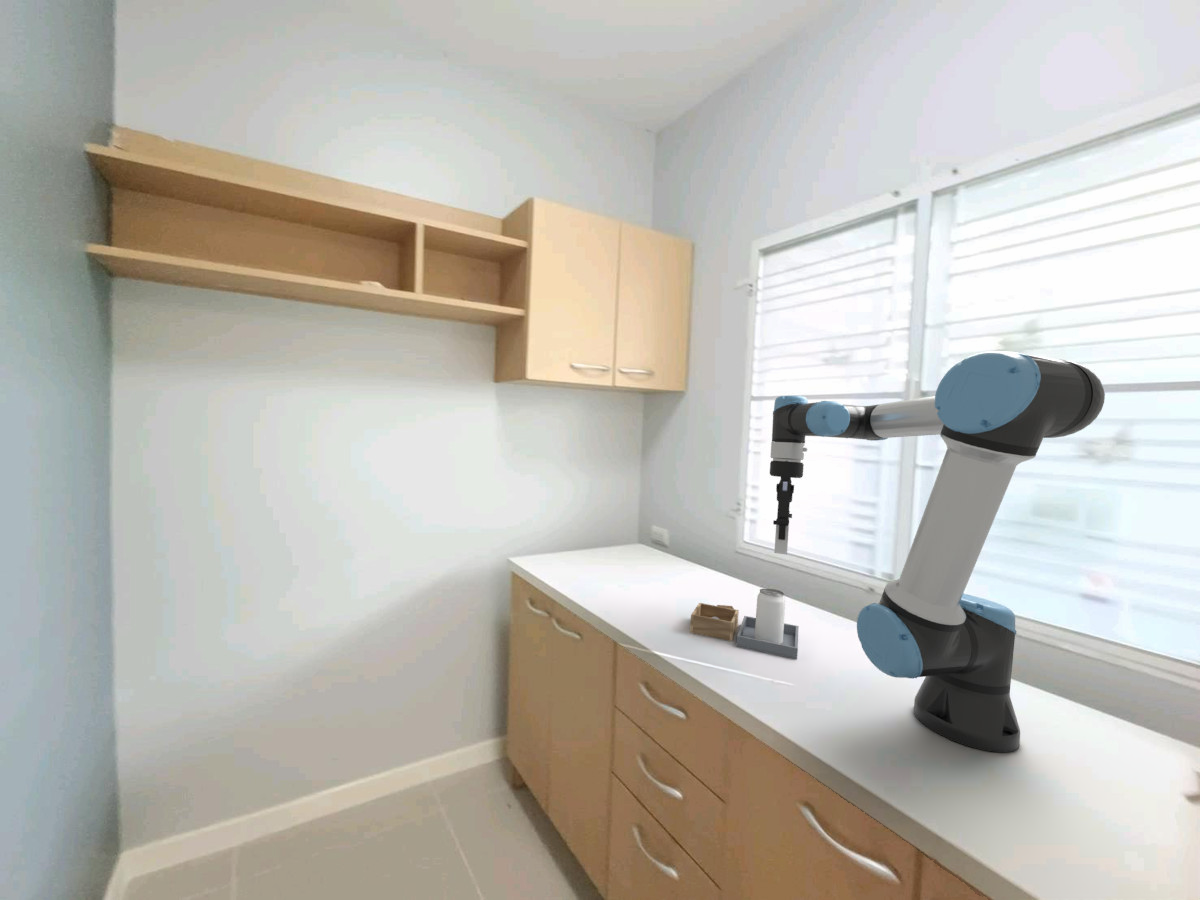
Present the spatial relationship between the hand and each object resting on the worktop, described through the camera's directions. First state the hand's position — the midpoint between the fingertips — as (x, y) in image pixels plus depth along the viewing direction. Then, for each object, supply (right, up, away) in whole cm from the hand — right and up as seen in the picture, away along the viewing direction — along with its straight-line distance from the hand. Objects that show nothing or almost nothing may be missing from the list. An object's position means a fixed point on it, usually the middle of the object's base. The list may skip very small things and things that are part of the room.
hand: (781, 548), depth 118 cm
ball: (-15, -22, +6) cm, 27 cm away
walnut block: (-10, -23, +13) cm, 28 cm away
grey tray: (-3, -23, +1) cm, 23 cm away
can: (-3, -23, +1) cm, 23 cm away
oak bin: (-15, -22, +6) cm, 27 cm away
